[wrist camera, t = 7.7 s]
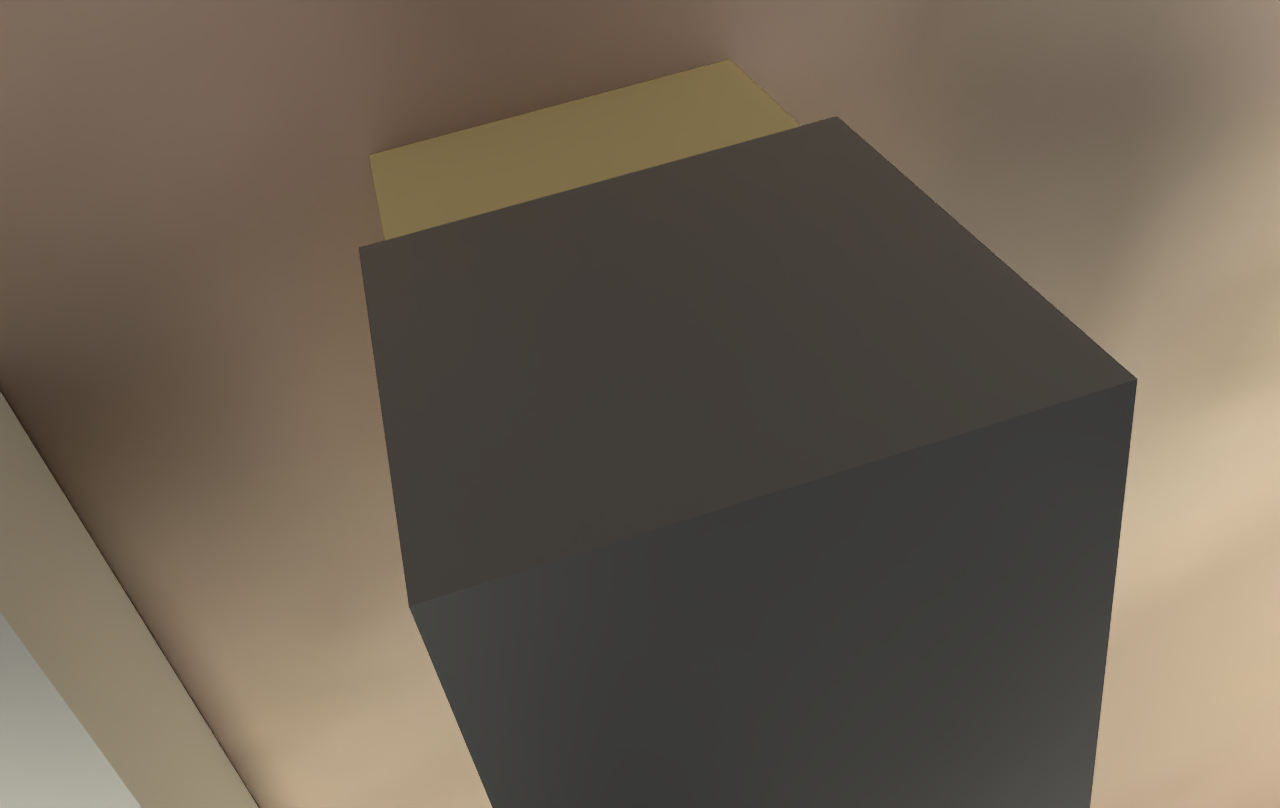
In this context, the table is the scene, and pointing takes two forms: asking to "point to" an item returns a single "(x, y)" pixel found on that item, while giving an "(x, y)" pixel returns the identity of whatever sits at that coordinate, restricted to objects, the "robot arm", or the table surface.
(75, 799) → the socket plate
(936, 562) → the plug
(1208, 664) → the table surface
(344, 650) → the table surface
